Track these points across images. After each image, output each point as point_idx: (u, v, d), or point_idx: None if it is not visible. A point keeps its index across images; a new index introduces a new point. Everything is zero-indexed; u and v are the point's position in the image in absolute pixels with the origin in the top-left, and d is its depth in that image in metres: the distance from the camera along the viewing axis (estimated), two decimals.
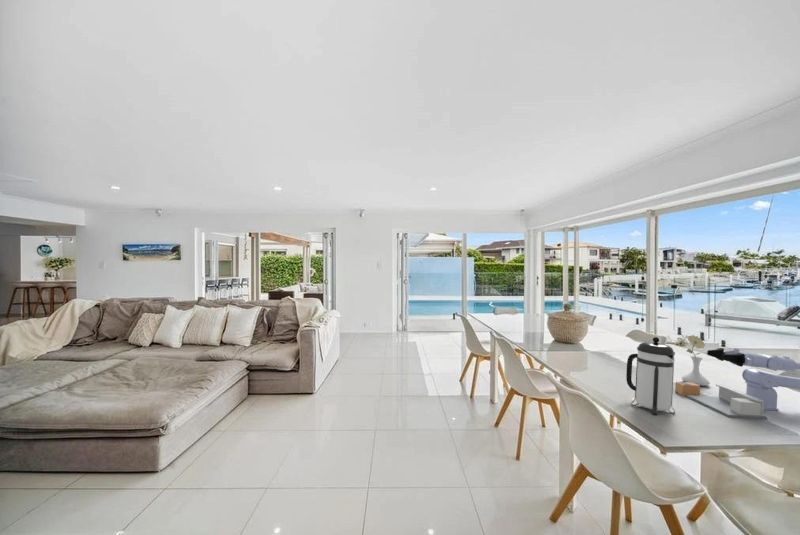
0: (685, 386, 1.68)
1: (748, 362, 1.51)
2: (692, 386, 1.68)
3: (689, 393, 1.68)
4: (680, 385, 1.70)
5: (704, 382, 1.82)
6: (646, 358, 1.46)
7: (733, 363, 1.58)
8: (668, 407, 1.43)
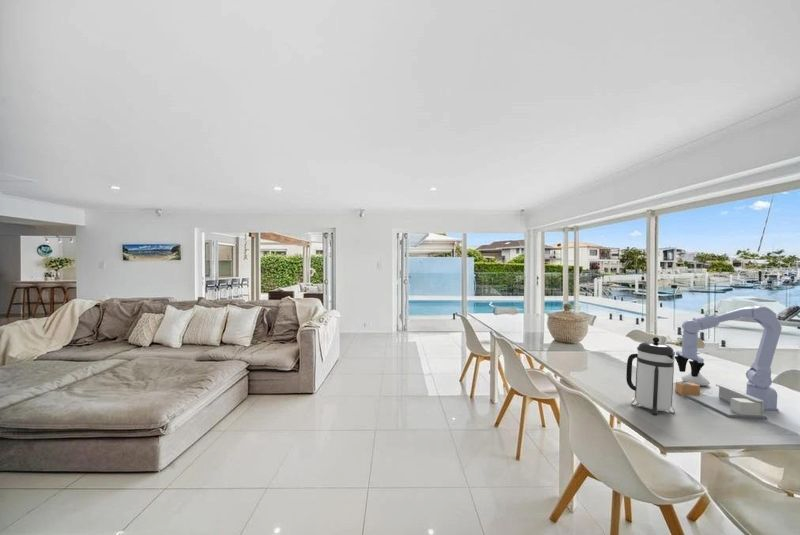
0: (685, 386, 1.68)
1: (702, 361, 1.63)
2: (692, 386, 1.68)
3: (689, 393, 1.68)
4: (680, 385, 1.70)
5: (704, 382, 1.82)
6: (646, 358, 1.46)
7: None
8: (668, 407, 1.43)
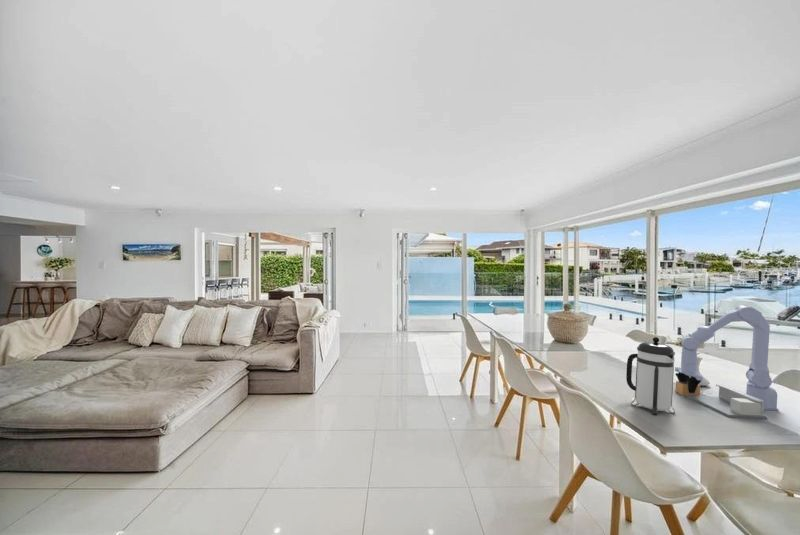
0: (685, 386, 1.68)
1: (701, 379, 1.63)
2: None
3: (689, 393, 1.68)
4: (680, 385, 1.70)
5: (704, 382, 1.82)
6: (646, 358, 1.46)
7: None
8: (668, 407, 1.43)
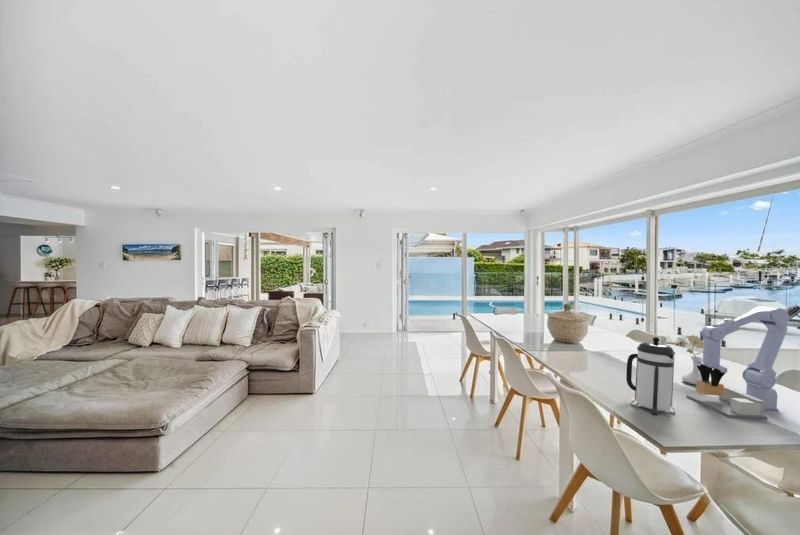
0: (707, 385, 1.57)
1: (725, 371, 1.52)
2: None
3: (711, 392, 1.57)
4: (702, 384, 1.59)
5: None
6: (646, 358, 1.46)
7: None
8: (668, 407, 1.43)
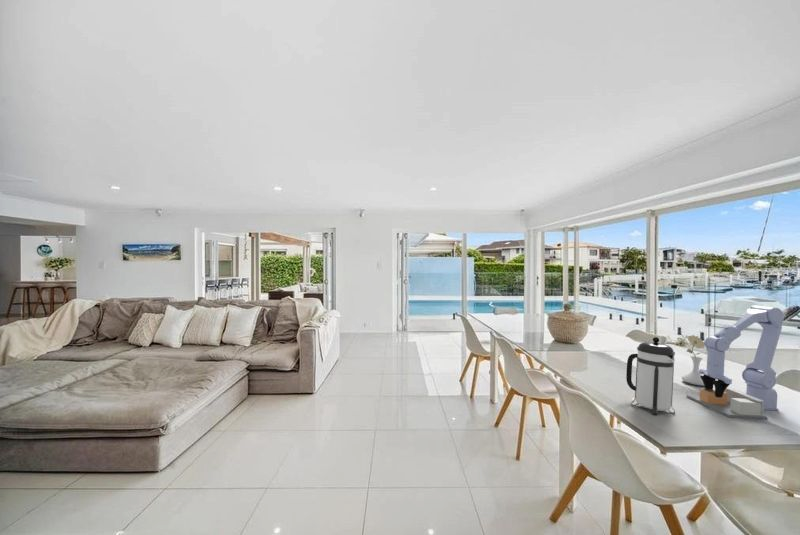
0: (711, 394, 1.55)
1: (730, 382, 1.50)
2: None
3: (715, 401, 1.55)
4: (705, 392, 1.57)
5: None
6: (646, 358, 1.46)
7: None
8: (668, 407, 1.43)
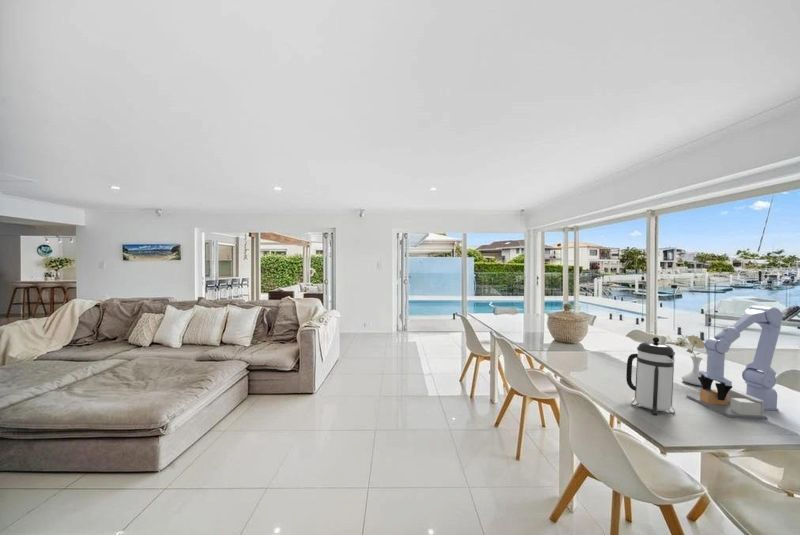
0: (711, 394, 1.55)
1: (730, 384, 1.50)
2: None
3: (715, 401, 1.55)
4: (705, 392, 1.57)
5: None
6: (646, 358, 1.46)
7: None
8: (668, 407, 1.43)
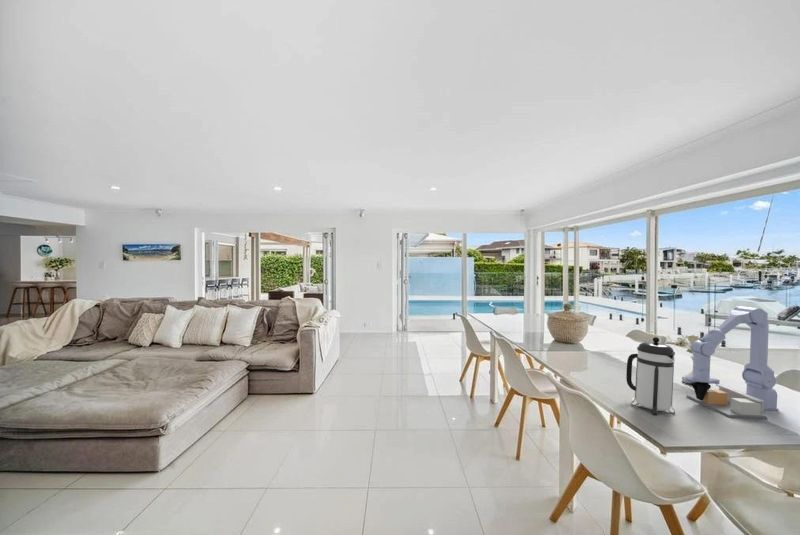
0: (711, 394, 1.55)
1: (684, 380, 1.57)
2: (719, 394, 1.55)
3: (716, 401, 1.55)
4: (706, 392, 1.57)
5: None
6: (646, 358, 1.46)
7: (706, 382, 1.55)
8: (668, 407, 1.43)
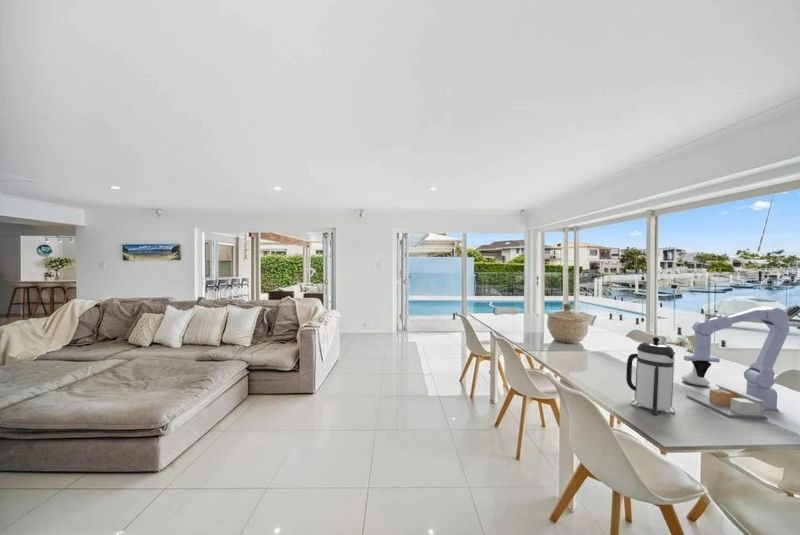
0: (721, 394, 1.55)
1: (685, 359, 1.64)
2: (729, 394, 1.55)
3: (725, 402, 1.55)
4: (715, 393, 1.56)
5: (704, 382, 1.82)
6: (646, 358, 1.46)
7: None
8: (668, 407, 1.43)
